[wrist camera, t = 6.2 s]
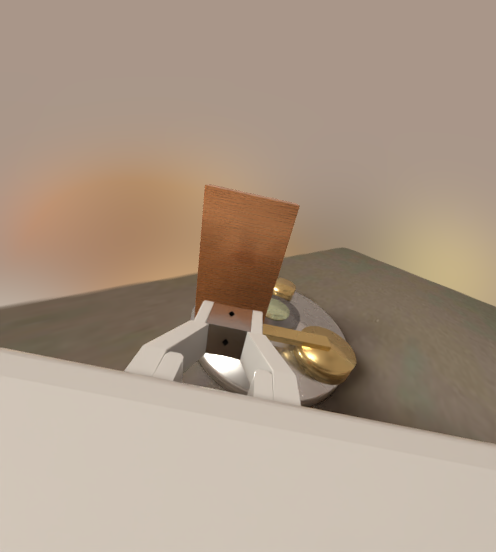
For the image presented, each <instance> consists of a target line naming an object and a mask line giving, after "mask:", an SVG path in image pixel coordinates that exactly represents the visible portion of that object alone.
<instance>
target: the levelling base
mask: <svg viewBox="0 0 496 552" xmlns="http://www.w3.org/2000/svg"><path fill="white" fill-rule="evenodd" d="M295 289H296V286H295V285H294V284H293V283H292V282H291V281H289V280H286V279H283V278H277V281H276V284H275V287H274V291H273V294H272V297H271V300H270V304H269V307H268V310H267V313H266V317H265V320H264V323H263V324H268V325H273V326H278V327H283V328H287V329H292V330H297V331H302V330H303V329H304V328H306V327H308V326H319V327H323V328H326V329H328V330H331V331H333V332H334V333H336V334H338V335H339V336H340V337H342V338H343V339H344V340H345V338H344V335H343V333H342V332H341V330H340V328H339V327H338V325H337V324H336V323H335V321H334V320H333V319H332V318H331V317H330V316H329V315H328V314H327V313H326V312H325V311H324V310H323V309H322V308H321V307H319V306H318V305H317V304H315V303H314V302H313V301H311V300H310V299H308V298H306V297H305V296H303V295H301V294H299V293H297V292H295ZM195 304H196V303H195ZM194 316H195V305H194V308H193V310H192V315H191V320H192V321H194ZM269 341H270V340H269ZM345 341H346V340H345ZM270 342H271V343H272V345H273V346H274V347H275V349H276V350H277V351H278V353H279V354H280V355H281V357H282V358H283V359H284V361H285V362H286V363H287V365H288V366H289V367H290V369H291V370H292V371H293V373H294V374H295V375H296V379H297V385H298V391H299V397H300V403H301V406H304V407H310V406H313V405H315V404H318V403H320V402H321V401H323V400H324V399H326V398H327V397H328V396H329V395H330V394H331V393H332V392H333V391H334V390H335V389H336V387H337V386H338V385H328V384H324V383H321V382H319V381H317V380H315V379H313V378H312V377H310V376H309V375H308V374H307V373H305V372H304V371H303V370H302V368H301V367H300V366H299V364H298V363H297V361H296V359H295V356H294V346H295V345H290V344H285V343H280V342H275V341H270ZM198 362H199V363H200V365H201V366H202V368H203V369H204V370H205V372H206V373H207V374H208V375H209V376H210V377H211V378H212V379H213V380H214V381H215V382H216V383H217V384H218V385H220V386H221V387H222V388H224V389H225V390H226V391H227V392H232V393H237V394H242V395H247V394H248V391H249V388H250V383H249V381H248V379H247V376H246V374H245V371H244V369H243V367H242V364H241V362H240V360H238V359H234V358H229V357H225V356H220V355H214V354H208V353H205V355H203V356H202V357H201V358H200V359H199V360H198Z"/></svg>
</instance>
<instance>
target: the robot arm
mask: <svg viewBox="0 0 496 552" xmlns="http://www.w3.org/2000/svg"><path fill="white" fill-rule="evenodd" d="M205 353H208V354H214V355H220V356H225V357H229V358H234V359H238V360H240V362H241V364H242V367H243V369H244V371H245V374H246V376H247V379H248V381H249V383H250V388H249V391H248V394H247V395H242V394H237V393H232V392H227V391H222V390H216V389H211V388H206V387H201V386H196V385H191V384H186V383H182V375H183V373H184V372H186V371H187V370H188V369H189V368H190V367H191V366H192V365H193V364H194V363H196V362H197V361H198V360H199V359H200V358H201V357H202V356H203V355H205ZM0 552H496V444H493V443H488V442H483V441H478V440H472V439H467V438H462V437H457V436H452V435H447V434H442V433H437V432H431V431H426V430H421V429H416V428H411V427H406V426H401V425H396V424H391V423H385V422H380V421H375V420H370V419H365V418H360V417H355V416H350V415H345V414H340V413H334V412H329V411H324V410H319V409H314V408H309V407H304V406H301V403H300V397H299V391H298V385H297V379H296V375H295V374H294V373H293V371H292V370H291V369H290V367H289V366H288V365H287V363H286V362H285V361H284V359H283V358H282V357H281V355H280V354H279V353H278V351H277V350H276V349H275V347H274V346H273V345H272V343H271V342H270V341H269V339H268V338H267V337H266V335H263V312H261V311H256V310H248V309H243V308H238V307H234V306H230V305H225V304H221V303H217V302H212V301H207V300H204V301H203V303H202V305H201V307H200V309H199V311H198V313H197V315H196V317H195V319H194V321H192V320H190V321H188V322H186V323H184V324H182V325H180V326H179V327H177V328H175V329H173V330H171V331H169V332H167V333H165V334H163V335H162V336H160V337H158V338H156V339H154V340H152V341H150V342H148V343H146V344H144V345H143V346H142V348H141V349H140V350H139V352H138V353H137V354H136V356H135V357H134V358H133V360H132V361H131V362H130V364H129V365H128V367H127V368H126V369H125V371H119V370H114V369H109V368H104V367H99V366H94V365H88V364H83V363H78V362H73V361H68V360H63V359H58V358H53V357H47V356H42V355H37V354H32V353H27V352H22V351H17V350H12V349H6V348H1V347H0Z"/></svg>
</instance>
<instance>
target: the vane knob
mask: <svg viewBox="0 0 496 552" xmlns="http://www.w3.org/2000/svg"><path fill="white" fill-rule="evenodd" d="M298 209H299V205H298V204H296V203H292V202H287V201H283V200H278V199H273V198H269V197H264V196H260V195H255V194H251V193H246V192H241V191H237V190H233V189H228V188H224V187H219V186H215V185H205V193H204V205H203V217H202V230H201V242H200V254H199V267H198V279H197V292H196V304H195V316H194V319H195V317H196V315H197V313H198V311H199V309H200V307H201V305H202V303H203V301H204V300H207V301H212V302H217V303H221V304H225V305H230V306H234V307H238V308H243V309H248V310H256V311H261V312H263V323H264V320H265V317H266V313H267V310H268V307H269V304H270V300H271V297H272V294H273V291H274V287H275V284H276V281H277V278H278V274H279V271H280V268H281V265H282V261H283V258H284V255H285V252H286V248H287V245H288V242H289V239H290V235H291V232H292V229H293V226H294V223H295V219H296V216H297V213H298ZM263 335H266V337H267V338H268V339H269V340H270V341H275V342H280V343H285V344H290V345H295V346H294V356H295V359H296V361H297V363H298V364H299V366H300V367H301V368H302V370H303V371H304V372H305V373H307V374H308V375H309V376H310V377H312V378H313V379H315V380H317V381H319V382H321V383H324V384H328V385H338V384H341V383H343V382H344V381H345V380H346V378H347V377H348V375H349V374H350V372H351V371H352V370H353V368H354V367H355V365H356V356H355V353H354V351H353V349H352V348H351V346H350V345H349V344H348V343H347V342H346V341H345V340H344V339H343V338H342V337H340V336H339V335H338V334H336V333H334V332H333V331H331V330H328V329H326V328H323V327H319V326H308V327H306V328H304V329H303V330H302V331H297V330H292V329H287V328H283V327H278V326H273V325H268V324H263Z"/></svg>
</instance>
